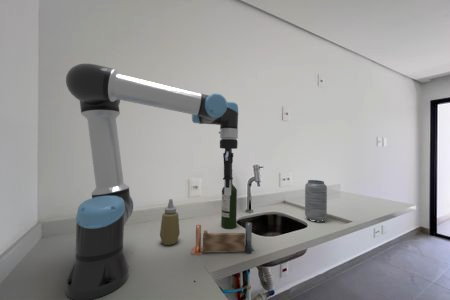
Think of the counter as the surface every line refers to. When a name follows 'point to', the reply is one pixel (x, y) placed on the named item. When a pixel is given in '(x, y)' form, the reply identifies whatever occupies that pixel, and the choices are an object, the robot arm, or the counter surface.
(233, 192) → the wine bottle
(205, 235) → the gate
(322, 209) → the vase
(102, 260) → the robot arm
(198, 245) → the gate posts
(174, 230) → the squeeze bottle
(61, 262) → the counter surface
